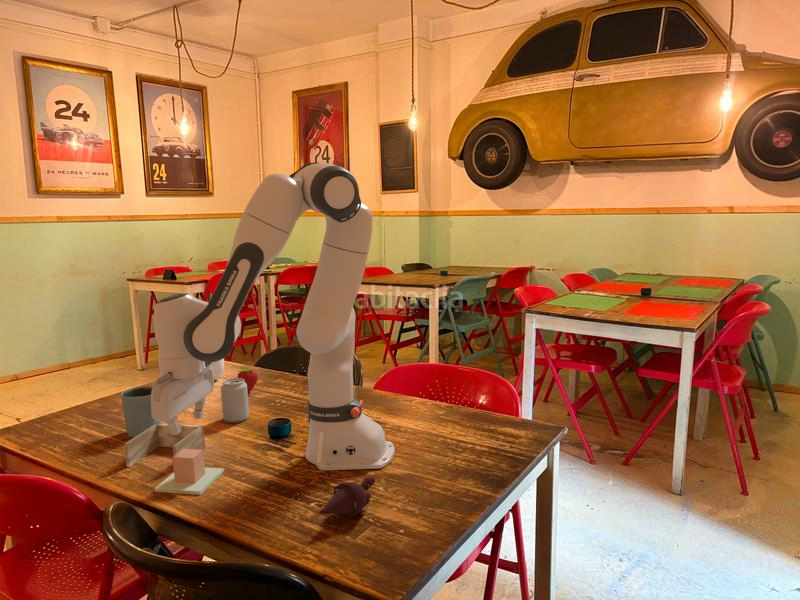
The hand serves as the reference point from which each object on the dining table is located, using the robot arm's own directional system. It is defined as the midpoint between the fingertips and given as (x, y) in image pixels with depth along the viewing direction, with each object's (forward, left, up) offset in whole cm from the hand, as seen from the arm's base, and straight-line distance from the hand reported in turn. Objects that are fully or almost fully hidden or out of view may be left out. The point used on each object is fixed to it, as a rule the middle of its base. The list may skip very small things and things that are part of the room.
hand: (188, 425), depth 127 cm
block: (0, 0, -13) cm, 13 cm away
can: (+7, -38, -14) cm, 41 cm away
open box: (+13, -12, -14) cm, 22 cm away
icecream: (-40, +9, -14) cm, 43 cm away
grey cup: (+29, -26, -14) cm, 41 cm away
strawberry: (+14, -62, -14) cm, 65 cm away
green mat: (0, 0, -14) cm, 14 cm away
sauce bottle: (+33, -74, -14) cm, 82 cm away
